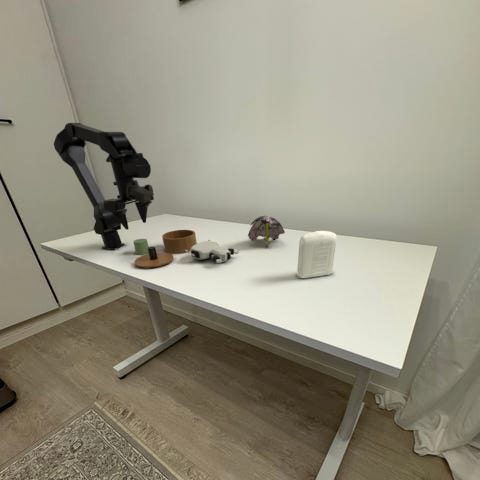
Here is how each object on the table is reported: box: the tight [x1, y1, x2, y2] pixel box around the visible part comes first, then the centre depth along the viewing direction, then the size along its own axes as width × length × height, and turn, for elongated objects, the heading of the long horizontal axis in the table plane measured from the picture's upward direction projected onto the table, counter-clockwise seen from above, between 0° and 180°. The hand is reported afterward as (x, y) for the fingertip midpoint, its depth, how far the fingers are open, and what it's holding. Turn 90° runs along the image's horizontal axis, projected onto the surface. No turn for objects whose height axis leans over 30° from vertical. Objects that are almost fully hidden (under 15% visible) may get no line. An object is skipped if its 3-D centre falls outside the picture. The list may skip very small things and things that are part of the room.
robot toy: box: [185, 239, 239, 264], centre depth 94 cm, size 12×4×15 cm
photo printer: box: [296, 230, 338, 279], centre depth 77 cm, size 10×4×12 cm, turn 103°
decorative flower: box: [247, 215, 286, 248], centre depth 103 cm, size 15×12×15 cm
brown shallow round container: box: [161, 229, 198, 255], centre depth 105 cm, size 12×12×5 cm
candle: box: [132, 238, 150, 256], centre depth 104 cm, size 5×5×4 cm
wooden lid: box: [134, 245, 174, 269], centre depth 94 cm, size 13×13×5 cm
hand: (136, 225), depth 99 cm, fingers open, 9 cm apart
